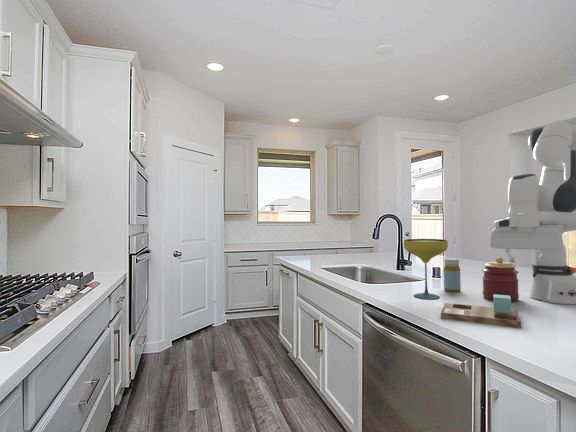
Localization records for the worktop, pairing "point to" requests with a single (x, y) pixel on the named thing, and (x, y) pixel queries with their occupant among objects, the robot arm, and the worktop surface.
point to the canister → (500, 280)
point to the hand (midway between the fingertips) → (525, 262)
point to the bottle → (452, 275)
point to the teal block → (502, 303)
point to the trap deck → (480, 315)
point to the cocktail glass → (426, 257)
